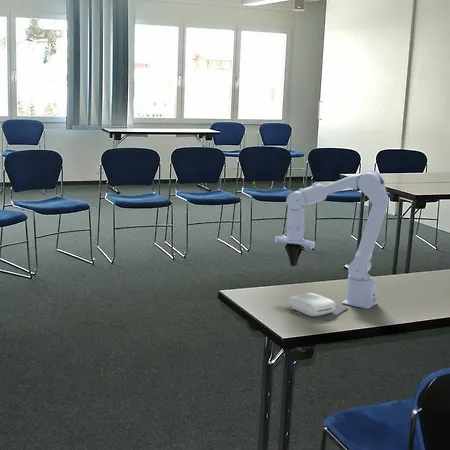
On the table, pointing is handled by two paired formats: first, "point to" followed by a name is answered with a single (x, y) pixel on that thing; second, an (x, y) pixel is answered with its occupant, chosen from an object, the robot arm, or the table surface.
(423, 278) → the table surface
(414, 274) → the table surface
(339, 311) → the slate mat
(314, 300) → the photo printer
